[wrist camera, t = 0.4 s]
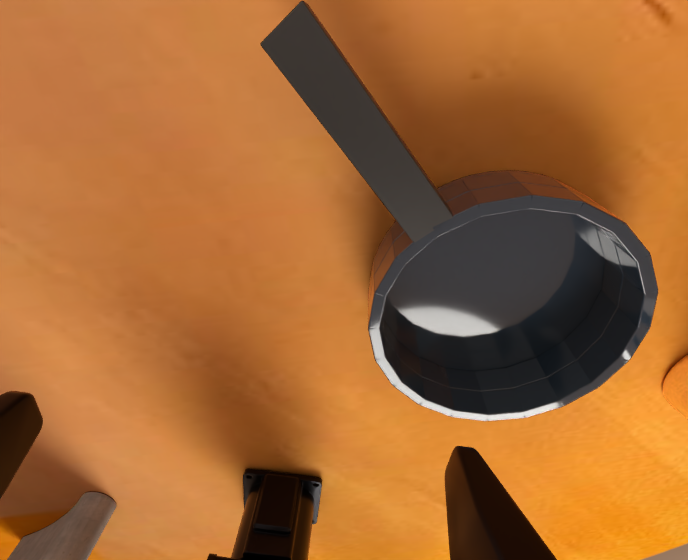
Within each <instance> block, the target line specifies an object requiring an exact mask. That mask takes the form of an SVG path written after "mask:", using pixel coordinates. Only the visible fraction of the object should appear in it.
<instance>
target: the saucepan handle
mask: <svg viewBox="0 0 688 560" xmlns="http://www.w3.org/2000/svg"><path fill="white" fill-rule="evenodd" d="M261 46H262V48H263V49H264V50H265V51H266V53H267V54H268V55H269V57H270V58H271V59H272V60H273V62H274V63H275V64H276V66H277V67H278V68H279V70H280V71H281V72H282V73H283V75H284V76H285V77H286V79H287V80H288V81H289V82H290V84H291V85H292V86H293V88H294V89H295V90H296V91H297V93H298V94H299V95H300V97H301V98H302V99H303V101H304V102H305V103H306V104H307V106H308V107H309V108H310V110H311V111H312V112H313V113H314V115H315V116H316V117H317V119H318V120H319V121H320V122H321V124H322V125H323V126H324V128H325V129H326V130H327V132H328V133H329V134H330V135H331V137H332V138H333V139H334V141H335V142H336V143H337V144H338V146H339V147H340V148H341V150H342V151H343V152H344V153H345V155H346V156H347V157H348V159H349V160H350V161H351V163H352V164H353V165H354V166H355V168H356V169H357V170H358V172H359V173H360V174H361V175H362V177H363V178H364V179H365V181H366V182H367V183H368V184H369V186H370V187H371V188H372V190H373V191H374V192H375V194H376V195H377V196H378V197H379V199H380V200H381V201H382V203H383V204H384V205H385V206H386V208H387V209H388V210H389V212H390V213H391V214H392V215H393V217H394V218H395V219H396V221H397V222H398V223H399V225H400V226H401V227H402V228H403V230H404V231H405V232H406V234H407V235H408V236H409V237H410V239H411V240H412V241H413V242H414V243H415V242H417V241H418V240H420V239H421V238H423V237H425V236H426V235H428V234H429V233H431V232H432V231H434V229H433V227H434V226H436V225H438V224H439V225H440V224H441V223H442V224H443V222H445V221H448V220H449V219H451V218H453V214H452V212H451V210H450V208H449V206H448V205H447V203H446V202H445V200H444V199H443V197H442V196H441V194H440V193H439V192H438V190H437V189H436V187H435V186H434V184H433V183H432V182H431V180H430V179H429V177H428V176H427V174H426V173H425V172H424V170H423V169H422V167H421V166H420V164H419V163H418V161H417V160H416V159H415V157H414V156H413V154H412V153H411V151H410V150H409V149H408V147H407V146H406V144H405V143H404V141H403V140H402V138H401V137H400V136H399V134H398V133H397V131H396V130H395V128H394V127H393V126H392V124H391V123H390V121H389V120H388V118H387V117H386V116H385V114H384V113H383V111H382V110H381V108H380V107H379V105H378V104H377V103H376V101H375V100H374V98H373V97H372V95H371V94H370V93H369V91H368V90H367V88H366V87H365V85H364V84H363V82H362V81H361V80H360V78H359V77H358V75H357V74H356V72H355V71H354V70H353V68H352V67H351V65H350V64H349V62H348V61H347V60H346V58H345V57H344V55H343V54H342V52H341V51H340V49H339V48H338V47H337V45H336V44H335V42H334V41H333V39H332V38H331V37H330V35H329V34H328V32H327V31H326V29H325V28H324V27H323V25H322V24H321V22H320V21H319V19H318V18H317V16H316V15H315V14H314V12H313V11H312V9H311V8H310V6H309V5H308V4H307V3H305V2H304V1H301V2H300V3H299V4H298V5H297V6H296V7H295V8H294V9H293V10H292V11H291V12H290V13H289V14H288V15H287V16H286V17H285V18H284V19H283V20H282V21H281V22H280V24H279V25H278V26H277V27H276V28H275V29H274V30H273V31H272V32H271V33H270V34H269V35H268V36H267V37H266V38H265V39H264V40H263V41H262V42H261ZM445 223H446V222H445ZM439 225H438V226H439Z"/></svg>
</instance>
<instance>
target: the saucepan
mask: <svg viewBox="0 0 688 560" xmlns="http://www.w3.org/2000/svg"><path fill="white" fill-rule="evenodd" d="M436 189H437V190H438V192H439V193H440V194H441V196H442V197H443V199H444V200H445V202H446V203H447V205H448V206H449V208H450V210H451V212H452V214H453V218H451V219H449V220H448V221H445V222H446V223H445V222H443V224H442V223H441V224H440V225H439V224H438V225H439V226H438V225H436V226H434V227H433V229H434V231H432V232H431V233H429V234H428V235H426V236H425V237H423V238H421V239H420V240H418V241H417V242H415V243H414V242H413V241H412V240H411V239H410V237H409V236H408V235H407V234H406V232H405V231H404V230H403V228H402V227H401V226H400V225H399V223H398V222H397V221H395V222H394V224H393V225H392V226H391V228H390V229H389V230H388V232H387V233H386V235H385V237H384V238H383V240H382V242H381V244H380V245H379V248H378V250H377V253H376V255H375V258H374V261H373V265H372V269H371V276H370V284H369V290H368V331H369V335H370V340H371V344H372V349H373V354H374V358H375V361H376V362H377V363H378V365H379V366H380V368H381V369H382V371H383V372H384V374H385V375H386V377H387V378H388V380H389V381H390V382H391V384H392V385H393V386H394V387H395V388H397V389H398V390H399V391H401V392H402V393H404V394H405V395H406V396H408V397H409V398H410V399H412V400H413V401H414V402H416V403H417V404H419V405H421V406H423V407H426V408H429V409H431V410H434V411H437V412H439V413H442V414H445V415H447V416H451V417H456V418H464V419H472V420H480V421H495V420H507V419H518V418H527V417H530V416H533V415H537V414H540V413H544V412H547V411H550V410H554V409H557V408H560V407H563V406H565V405H567V404H569V403H571V402H573V401H575V400H576V399H578V398H580V397H582V396H584V395H586V394H588V393H589V392H591V391H593V390H595V389H597V388H598V387H600V386H601V385H602V384H603V383H604V382H606V381H607V380H608V379H609V378H610V377H611V376H612V375H614V374H615V373H616V372H617V371H618V370H619V369H620V368H621V367H623V366H624V365H625V364H626V363H627V362H628V360H630V359H631V357H632V356H633V354H634V352H635V351H636V349H637V348H638V346H639V345H640V343H641V342H642V340H643V338H644V337H645V335H646V334H647V332H648V331H649V329H650V328H649V327H651V322H652V318H653V313H654V309H655V304H656V300H657V295H658V287H657V282H656V277H655V273H654V268H653V264H652V259H651V255H650V252H649V251H648V250H647V249H646V247H645V246H644V245H643V244H642V242H641V241H640V240H639V239H638V238H637V236H636V235H635V234H634V233H633V231H632V230H631V229H630V228H629V226H628V225H627V224H626V223H625V222H624V221H622V220H621V219H620V218H618V217H617V216H615V215H614V214H612V213H611V212H609V211H608V210H607V209H605V208H604V207H602V206H601V205H599V204H598V203H596V202H595V201H594V200H592V199H591V198H589V197H588V196H586V195H585V194H583V193H581V192H579V191H577V190H575V189H573V188H572V187H570V186H568V185H566V184H564V183H563V182H561V181H559V180H556V179H554V178H550V177H548V176H545V175H542V174H536V173H531V172H526V171H511V170H504V171H489V172H484V173H479V174H474V175H469V176H466V177H463V178H460V179H457V180H454V181H452V182H449V183H447V184H445V185H443V186H441V187H438V188H436Z"/></svg>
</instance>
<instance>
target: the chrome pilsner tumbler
mask: <svg viewBox="0 0 688 560" xmlns="http://www.w3.org/2000/svg"><path fill="white" fill-rule="evenodd" d="M663 394H664V396H665V399H666V400H667V402H668V403H669V404H670V405H671V406H672V407H673V408H674V409H675V410H677V411H678V412H679V413H680V414H681V415H683V416H684V417H685V418H686V419H687V420H688V355H687V356H685V357H684V358H682V359H681V360H680V361H678V362H677V363H676V364H675V365H674V366H673V367H672V368H671V370H670V371H669V372H668V374H667V375H666V377H665V380H664V383H663Z"/></svg>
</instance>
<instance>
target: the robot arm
mask: <svg viewBox="0 0 688 560" xmlns="http://www.w3.org/2000/svg"><path fill="white" fill-rule="evenodd" d="M42 424H43V418H42V415H41V413H40V410H39V408H38V405H37V403H36V400H35V398H34V396H33V395H32V394H30V393H25V392H17V391H10V392H6V393H4V394H2V395H0V499H1V497H2V496H3V494H4V492H5V491H6V489H7V487H8V486H9V484H10V482H11V480H12V479H13V477H14V475H15V474H16V472H17V470H18V468H19V467H20V465H21V463H22V461H23V460H24V458H25V456H26V455H27V453H28V451H29V449H30V448H31V446H32V444H33V443H34V441H35V439H36V437H37V436H38V434H39V432H40V430H41V428H42ZM321 487H322V479H321V478H319V477H313V476H305V475H297V474H288V473H280V472H272V471H264V470H255V469H246V470H245V472H244V475H243V488H244V512H243V516H242V520H241V523H240V527H239V531H238V534H237V538H236V542H235V545H234V549H233V553H232V556H231V558H227V557H220V556H217V554H209V556H208V559H207V560H308V553H309V545H310V536H311V528H312V524H315V523H316V522H317V517H318V509H319V502H320V495H321ZM445 491H446V506H447V521H448V536H449V549H450V559H451V560H557V559H556V558H555V556H554V555H553V554H552V552H551V551H550V550H549V548H548V547H547V545H546V544H545V543H544V541H543V540H542V539H541V537H540V536H539V535H538V533H537V532H536V530H535V529H534V528H533V526H532V525H531V524H530V522H529V521H528V520H527V518H526V517H525V515H524V514H523V513H522V511H521V510H520V509H519V507H518V506H517V504H516V503H515V502H514V500H513V499H512V498H511V496H510V495H509V494H508V492H507V491H506V489H505V488H504V487H503V485H502V484H501V483H500V481H499V480H498V479H497V477H496V476H495V474H494V473H493V472H492V470H491V469H490V468H489V466H488V465H487V464H486V462H485V461H484V459H483V458H482V457H481V455H480V454H479V453H478V451H477V450H475V449H474V448H471V447H463V446H456V447H455V448H454V450H453V452H452V454H451V457H450V460H449V462H448V465H447V467H446V471H445Z"/></svg>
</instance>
